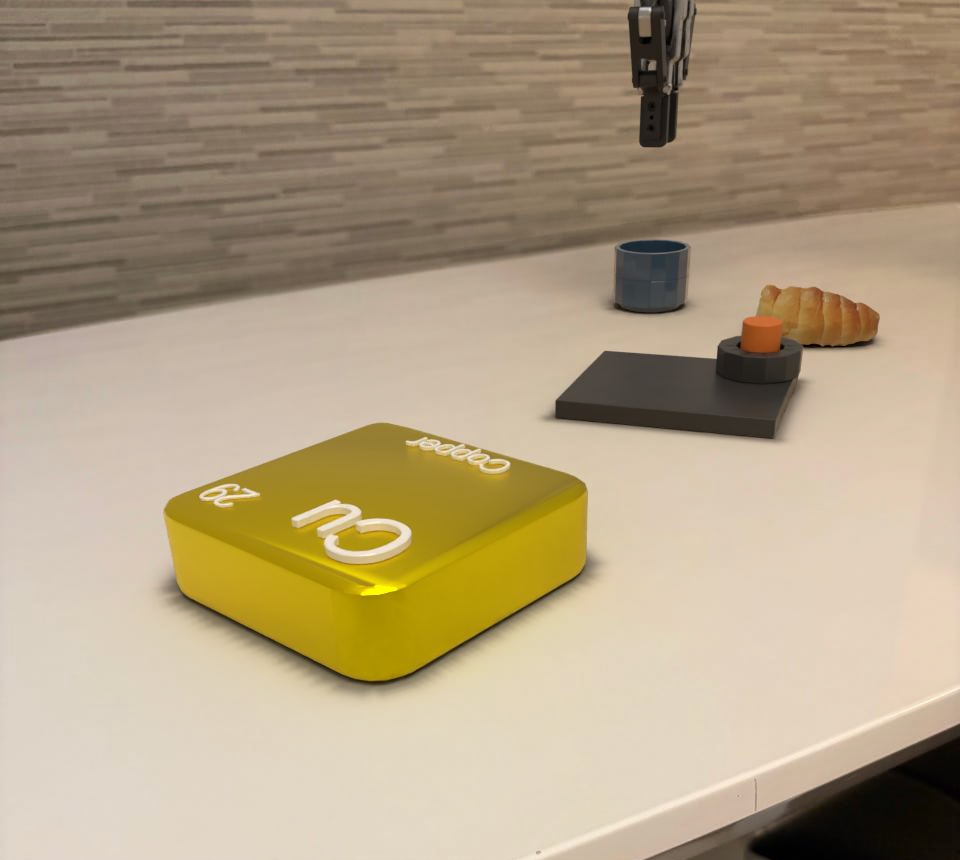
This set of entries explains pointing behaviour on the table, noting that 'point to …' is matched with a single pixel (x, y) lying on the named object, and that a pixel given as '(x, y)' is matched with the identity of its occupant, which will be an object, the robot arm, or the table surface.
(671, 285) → the blue cup
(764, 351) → the button
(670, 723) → the table surface
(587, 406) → the scale
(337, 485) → the element tile
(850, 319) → the pastry
